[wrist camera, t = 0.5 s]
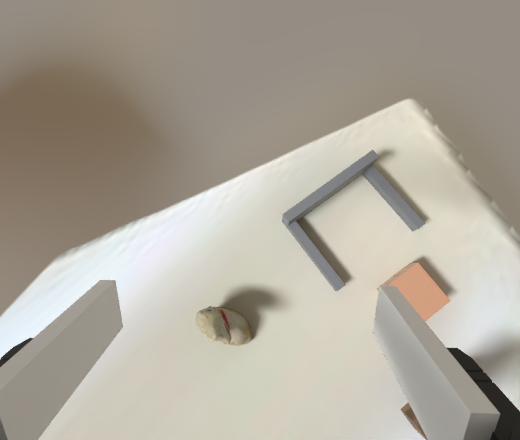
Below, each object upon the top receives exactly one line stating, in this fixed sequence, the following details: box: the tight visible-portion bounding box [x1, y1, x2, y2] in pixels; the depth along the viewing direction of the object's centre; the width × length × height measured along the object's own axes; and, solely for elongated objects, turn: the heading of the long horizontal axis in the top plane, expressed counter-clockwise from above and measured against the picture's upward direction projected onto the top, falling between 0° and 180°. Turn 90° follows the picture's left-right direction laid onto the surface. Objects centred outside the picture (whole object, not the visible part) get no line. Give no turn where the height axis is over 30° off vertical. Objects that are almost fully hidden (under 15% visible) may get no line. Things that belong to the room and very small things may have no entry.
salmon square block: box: [377, 262, 450, 321], centre depth 44 cm, size 7×7×3 cm
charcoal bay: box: [282, 150, 425, 291], centre depth 46 cm, size 14×18×5 cm
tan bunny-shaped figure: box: [196, 306, 252, 345], centre depth 41 cm, size 6×8×10 cm
